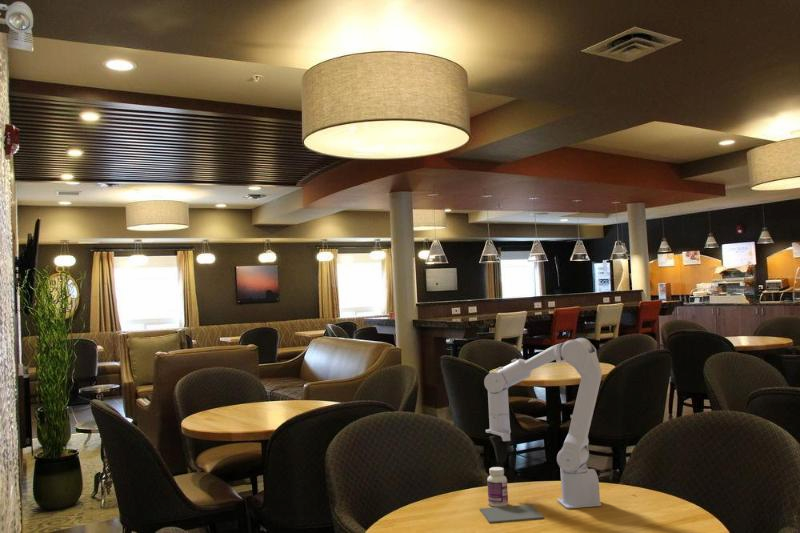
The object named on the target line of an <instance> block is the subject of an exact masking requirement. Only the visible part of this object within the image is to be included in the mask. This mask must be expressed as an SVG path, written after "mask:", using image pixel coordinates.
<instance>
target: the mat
mask: <svg viewBox="0 0 800 533" xmlns="http://www.w3.org/2000/svg"><path fill="white" fill-rule="evenodd" d="M479 511H480V512H481V514H482V515H483V516H484V518H485V519H486V520H487V522H488V523H489V524H496V523H498V524H499V523H507V522H518V521H519V522H520V521H521V522H522V521H531V520H532V521H534V520H543V519H545V516H544V515H543V514H542V513H540V511H539V510H537V508H535V507H534V506H533V505H532V504H517V505H509V506H508V505H506V506H504V507H493V506H492V507H482V508H479Z"/></svg>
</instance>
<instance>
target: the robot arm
mask: <svg viewBox="0 0 800 533" xmlns="http://www.w3.org/2000/svg"><path fill="white" fill-rule="evenodd" d="M553 361H560V362H562V361H565V362H566V363H567V364H569V365H570V366H572V367H573V368H574V369H575V371H576V372H577V373H578V374H579V377H580V382H579V384H578V386H579V387H578V391H577V395H576V398H575V399H576V400H575V404H574V408H573V411H572V415H571V421H570V425H569V430H568V433H567V435H566V437H565V440H564V442H563V445H562V447H561V449H560V450H559V451H558V453H557V455H556V462H557V465H558V467H559V468H560V470H559V471H560V486H561V487H560V488H561V489H560V490H561V498H559V497H558V498H557V499H556V501H558V503H559V504H561V505H562V506H563V507H564V508H566V509H580V508H591V507H601V506H602V503H601V496H600V482H599V477H598V474H597V471H596V470H595V469H594V468H588V466H587V462H588V460H589V458H590V451H589V443H590V441H589V432H590V428H591V424H592V420H593V415H594V411H595V407H596V403H597V399H598V398H597V397H598V395H599V388H600V385H601V381H602V376H603V370H602V367H601V364H600V360H599V357H598V355H597V349H596V347H595V346H594V344H592V343H591V341H590V340H589V339H587V338H585V337H578V338H575V339H568V340H566V341H565V342H561V343H558V344H555V345H552V346H550V347H548V348H546V349H545V350H542V351H541V352H539V353H538V354H536V355H534V356H532V357H530V358H528V359H522V358H518V359H517V358H514V359H512V360H511V362H510V363H509V364H507V365H505V366H499V367H498V368H497V370H496V371H490V372H489V373H488V374H487V375H486V376H485V377H484V379H483V380H484V381H483V383H484V384H483V385H484V387H485V389H486V390H487V398H488V400H487V402H488V419H489V420H488V421H489V428H488V429H485V433H487V434H493V435H491V436H489V438H488V439H489V441H490V442H491V444H492V447H493V449H494V453H495V458H496V461H497V462H498V463H502V464H503V463H506V462H507V458H508V457H507V456H508V452H509V451H508V450H509V446H510V444H511V442H512V439H513V438H512V437H511V433H512V430H511V422H510V421H511V420H510V408H509V404H510V403H509V388H510V387H512V386H515V385H517V384H518V383H521V382H523V381H524V380H526V379H528V378H530V377H531V373H532V372H533V371H535V369H538V368H541V367H542V366H544V365H546V364H549V363H551V362H553Z"/></svg>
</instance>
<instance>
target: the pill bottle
mask: <svg viewBox="0 0 800 533" xmlns="http://www.w3.org/2000/svg"><path fill="white" fill-rule="evenodd" d="M488 471H489V476H487V479H486V481H487V497H488V498H487V499H488V500H487V502H488V505H489V506H490V507H492V508H493V507H505V506H508V505H509V495H508V494H509V491H508V479H507V476H505V475H504V474H505V469H504V467H501V466H492V467H490V468H489V470H488Z"/></svg>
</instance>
